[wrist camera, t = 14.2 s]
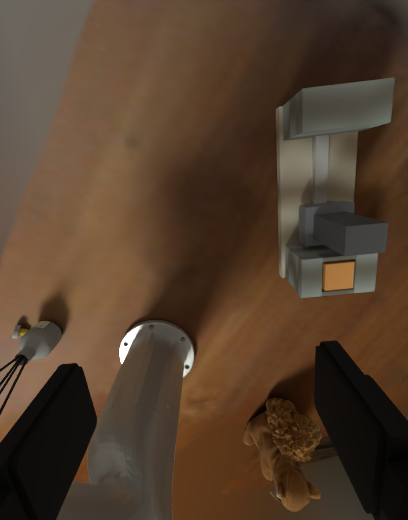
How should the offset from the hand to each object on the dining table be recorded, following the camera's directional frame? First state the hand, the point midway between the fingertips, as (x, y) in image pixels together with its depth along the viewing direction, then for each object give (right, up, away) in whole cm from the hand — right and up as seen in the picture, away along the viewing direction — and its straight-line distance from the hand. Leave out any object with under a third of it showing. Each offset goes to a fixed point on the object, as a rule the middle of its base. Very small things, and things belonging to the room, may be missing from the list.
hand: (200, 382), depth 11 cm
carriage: (+16, +10, +27) cm, 33 cm away
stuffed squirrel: (+13, -25, +40) cm, 49 cm away
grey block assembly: (+16, +14, +27) cm, 34 cm away
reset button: (+17, +3, +24) cm, 29 cm away
